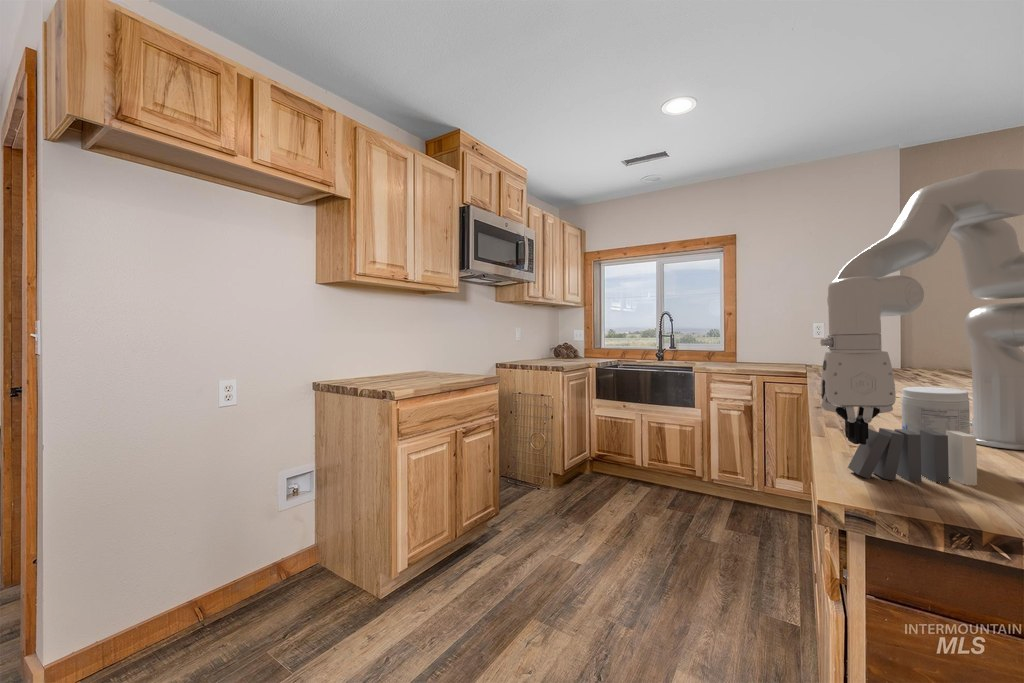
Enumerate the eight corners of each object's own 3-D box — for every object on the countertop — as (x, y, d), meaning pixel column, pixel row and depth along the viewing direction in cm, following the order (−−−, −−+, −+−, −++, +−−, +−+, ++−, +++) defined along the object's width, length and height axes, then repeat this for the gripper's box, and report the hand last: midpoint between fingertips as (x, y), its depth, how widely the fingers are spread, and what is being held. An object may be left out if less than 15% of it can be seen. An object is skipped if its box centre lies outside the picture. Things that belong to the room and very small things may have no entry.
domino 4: (920, 475, 77) (919, 429, 77) (933, 476, 77) (932, 430, 77) (935, 483, 73) (934, 435, 73) (948, 483, 73) (947, 435, 73)
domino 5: (946, 476, 76) (945, 430, 76) (959, 477, 76) (958, 430, 75) (963, 484, 72) (962, 436, 72) (977, 485, 72) (976, 436, 71)
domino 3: (895, 474, 78) (894, 429, 78) (907, 474, 78) (906, 429, 78) (908, 481, 74) (907, 434, 74) (921, 482, 74) (920, 434, 74)
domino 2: (870, 470, 79) (879, 427, 79) (882, 473, 79) (891, 429, 78) (882, 478, 75) (892, 432, 75) (895, 480, 75) (904, 434, 74)
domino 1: (847, 467, 81) (867, 428, 79) (858, 471, 80) (878, 432, 79) (858, 474, 77) (879, 433, 75) (869, 479, 76) (891, 437, 75)
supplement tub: (897, 454, 90) (896, 385, 90) (960, 459, 85) (958, 387, 85) (909, 466, 82) (907, 391, 82) (979, 473, 77) (977, 393, 77)
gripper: (815, 346, 77) (817, 446, 77) (917, 343, 72) (919, 450, 72) (800, 344, 84) (803, 436, 84) (892, 342, 79) (894, 439, 80)
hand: (856, 442), depth 78 cm, fingers closed
